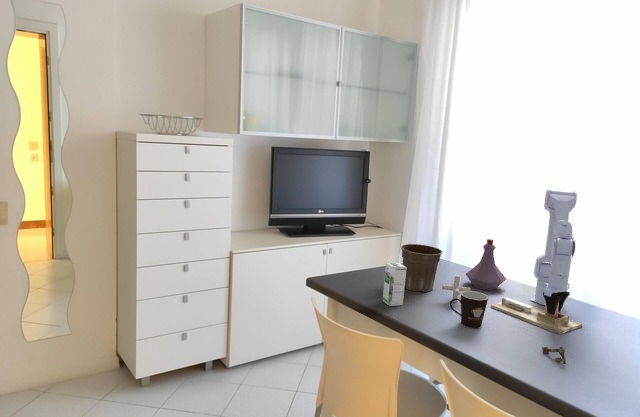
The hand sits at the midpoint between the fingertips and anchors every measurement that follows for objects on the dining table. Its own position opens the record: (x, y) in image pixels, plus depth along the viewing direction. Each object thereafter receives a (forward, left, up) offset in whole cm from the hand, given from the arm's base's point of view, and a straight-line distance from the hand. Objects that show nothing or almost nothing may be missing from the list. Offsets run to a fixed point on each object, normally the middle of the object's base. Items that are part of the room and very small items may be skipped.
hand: (553, 312), depth 159 cm
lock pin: (0, -14, -3) cm, 14 cm away
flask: (-13, -37, -4) cm, 39 cm away
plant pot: (+15, -48, -4) cm, 51 cm away
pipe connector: (+14, -30, -4) cm, 33 cm away
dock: (-1, -7, -4) cm, 8 cm away
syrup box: (+37, -39, -4) cm, 54 cm away
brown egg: (0, -1, -2) cm, 2 cm away
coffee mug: (+27, -14, -4) cm, 31 cm away
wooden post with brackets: (+24, +15, -5) cm, 28 cm away
